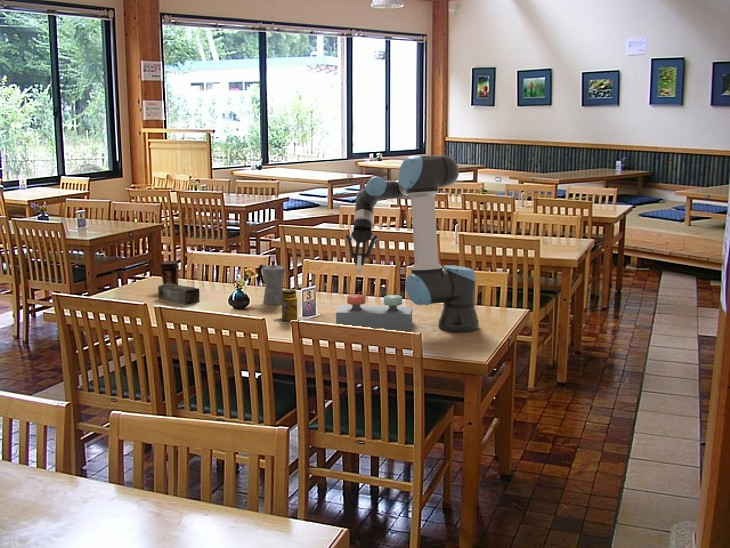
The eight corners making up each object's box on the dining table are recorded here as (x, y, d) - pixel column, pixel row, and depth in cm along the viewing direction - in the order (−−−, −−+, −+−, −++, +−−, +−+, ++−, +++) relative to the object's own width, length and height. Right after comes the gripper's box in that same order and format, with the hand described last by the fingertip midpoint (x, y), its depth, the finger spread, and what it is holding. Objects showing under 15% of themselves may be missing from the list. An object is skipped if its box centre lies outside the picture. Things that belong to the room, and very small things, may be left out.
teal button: (402, 315, 315) (402, 295, 313) (401, 320, 308) (401, 299, 306) (384, 315, 316) (384, 294, 314) (383, 319, 309) (383, 299, 307)
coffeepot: (293, 302, 350) (292, 260, 346) (278, 306, 342) (277, 264, 339) (266, 297, 359) (265, 257, 355) (251, 301, 351) (250, 260, 348)
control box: (412, 321, 317) (412, 306, 316) (410, 329, 306) (410, 314, 305) (340, 319, 320) (340, 304, 319) (336, 327, 309) (336, 312, 308)
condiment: (301, 321, 319) (301, 290, 317) (282, 324, 315) (281, 293, 312) (292, 317, 325) (292, 287, 323) (273, 320, 321) (272, 290, 318)
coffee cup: (161, 288, 377) (160, 260, 374) (180, 287, 378) (179, 260, 376) (160, 292, 368) (159, 264, 366) (179, 291, 370) (178, 263, 367)
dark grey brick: (172, 296, 363) (172, 281, 361) (200, 302, 351) (200, 287, 349) (157, 299, 357) (157, 284, 355) (186, 305, 345) (185, 290, 343)
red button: (366, 314, 316) (366, 294, 315) (364, 319, 309) (364, 298, 308) (348, 314, 317) (348, 294, 315) (346, 318, 310) (346, 298, 309)
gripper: (379, 228, 337) (375, 276, 324) (347, 228, 339) (343, 276, 326) (378, 217, 331) (374, 266, 318) (346, 217, 332) (341, 265, 319)
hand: (358, 271), depth 322 cm, fingers closed
